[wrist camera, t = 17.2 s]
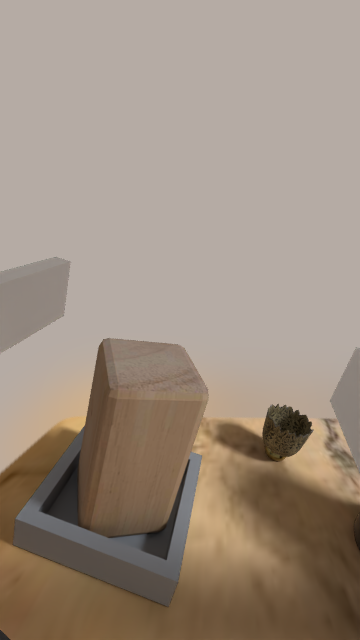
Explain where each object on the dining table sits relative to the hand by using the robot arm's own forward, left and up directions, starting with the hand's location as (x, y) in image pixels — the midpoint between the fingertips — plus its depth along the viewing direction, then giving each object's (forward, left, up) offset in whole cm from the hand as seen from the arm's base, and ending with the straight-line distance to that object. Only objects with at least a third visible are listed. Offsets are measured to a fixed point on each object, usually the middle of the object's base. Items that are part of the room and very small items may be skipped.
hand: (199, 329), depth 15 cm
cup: (-17, -35, -32) cm, 50 cm away
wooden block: (+4, -16, -31) cm, 35 cm away
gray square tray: (+4, -16, -32) cm, 36 cm away
